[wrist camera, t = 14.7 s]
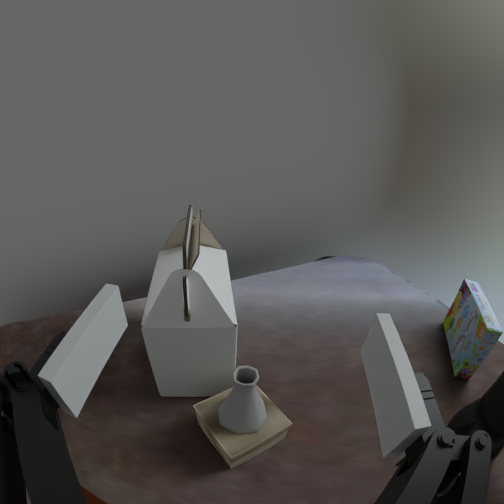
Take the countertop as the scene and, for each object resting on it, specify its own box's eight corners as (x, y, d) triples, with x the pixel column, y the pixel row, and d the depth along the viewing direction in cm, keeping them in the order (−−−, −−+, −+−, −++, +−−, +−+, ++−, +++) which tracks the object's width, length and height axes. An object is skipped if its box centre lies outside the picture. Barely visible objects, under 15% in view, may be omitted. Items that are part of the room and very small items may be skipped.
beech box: (285, 438, 38) (292, 423, 35) (230, 470, 32) (231, 458, 29) (248, 397, 45) (250, 378, 42) (196, 422, 39) (192, 405, 36)
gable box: (234, 396, 45) (241, 258, 32) (160, 397, 43) (125, 259, 30) (224, 316, 64) (227, 198, 51) (167, 317, 62) (156, 198, 49)
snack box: (470, 380, 44) (504, 332, 37) (453, 378, 46) (486, 328, 39) (456, 325, 62) (478, 281, 55) (441, 322, 64) (462, 276, 57)
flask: (212, 429, 33) (208, 393, 28) (222, 390, 39) (222, 349, 35) (263, 438, 32) (273, 404, 28) (269, 398, 39) (278, 357, 34)
